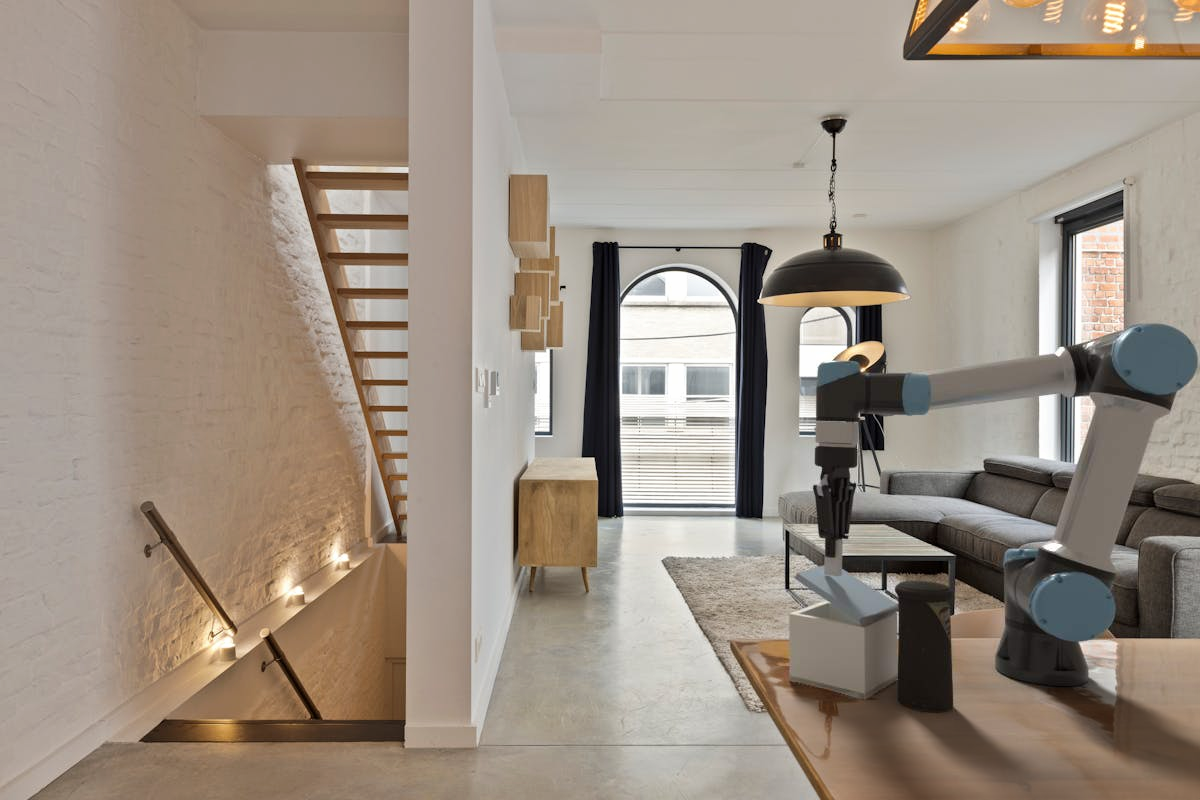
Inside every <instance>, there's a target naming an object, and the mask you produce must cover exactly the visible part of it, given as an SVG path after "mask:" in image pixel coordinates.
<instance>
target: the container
mask: <svg viewBox="0 0 1200 800" xmlns="http://www.w3.org/2000/svg"><path fill="white" fill-rule="evenodd" d="M894 592H895V594H896V596H897V597H898V600H897V601H898V612H897V613H898V614H897V617H898V624H897V653H898V680H897V681H896V684H897V687H896V689H897V690H896V696H897V697H896V698H897V702H898V703H899V704H901V706H904V707H907V708H909V709H912V710H917V711H922V712H928V713H929V712H930V713H931V712H933V713H944V712H948V711H950V710H952V709H953V708H954V686H953V685H954V684H953V682H954V681H953V679H954V678H953V658H952V657H953V653H952V652H953V651H952V650H953V649H952V626H951V625H952V624H951V623H952V622H951V600H952V598H953V596H954V591H953V589H952V588H950V587H949V585H946V584H943V583H939V582H934V581H929V580H928V581H927V580H905V581H900V582H899V583H897V584H896V585H895V587H894Z"/></svg>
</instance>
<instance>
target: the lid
mask: <svg viewBox="0 0 1200 800" xmlns="http://www.w3.org/2000/svg"><path fill="white" fill-rule="evenodd" d="M794 579H795V580H796V581H797V582H799V583H801V584H802V585H803V586H805V587H806V588H807V589H810V590H811V591H812V592H814V593H815V594H817V595H818V596H819V597H821V598H823V600H825V601H828V602H830V603H831V604H833V605H834V606H836V607H837V608H839V609H840V610H842V611H843V612H845V613H846V614H848V615H849V616H851V617H852V618H854V619H855V620H857V621H858V622H860V624H861V625H862V626H867V625H869V624H871V623H874V622H876V621H878V620H880V619H883V618H885V617H887V616H889V615H892V614H894V613H899V612H898V603H897V602H895V601H893V600H892V599H890V598H889V597H887V596H886V595H884V594H883V593H880V591H878V590H876V589H875V588H873V587H871V586H870V585H868V584H867V583H865V582H864V581H863V580H860V579H858V577H856V576H854V575H853V574H851V573H850V572H849V571H847V570H845V569H843V568H842V575H841V576H833V575H827V574H824V564H823V565H819V566H817V567H813V568H809V569H806V570H803V571H799V572H796V574H795V577H794Z"/></svg>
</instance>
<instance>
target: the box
mask: <svg viewBox="0 0 1200 800" xmlns="http://www.w3.org/2000/svg"><path fill="white" fill-rule="evenodd" d="M788 615H789V616H788V618H789V620H788V623H789V624H788V625H789V627H788V628H789V629H788V631H789V632H788V633H789V638H788V640H789V643H788V644H789V646H788V647H789V649H788V650H789V651H788V652H789V653H788V654H789V658H788V659H789V662H788V663H789V667H788V668H789V672H788V673H789V675H788V676H789V677H788V678H789V682H792V683H796V682H798V683H797V684H800V683H804V684H809V685H814V686H819V687H823V688H826V689H829V690H832V691H835V692H839V693H842V694H841V695H843V694H846V695H845V696H847V695H849V696H848V697H851V696H852V698H855V699H860V700H863V699H864V700H863V701H866V700H867V699H869V698H870V697H872V696H874V695H875V694H877V693H878V692H877V691H879V690H880V691H882V690H883V689H882V688H883V687H885V686H887V685H888V684H890V683H892V682H893V683H895V682H897V681H896V680H897V679H898V612H896V613H894V614H892V615H889V616H887V617H885V618H883V619H880V620H878V621H876V622H874V623H871V624H869V625H867V626H862V625H861V624H860V622H858V621H857V620H855V619H854V618H852V617H851V616H849V615H848V614H846V613H845V612H843V611H842V610H840V609H839V608H837V607H836V606H834V605H833V604H831V603H830V602H828V601H827V600H824V601H821V602H819V603H816V604H812V605H809V606H807V607H804V608H802V609H798V610H796V611H792V612H790V613H789V614H788ZM894 681H895V682H894ZM893 683H892V684H893ZM804 684H803V685H804ZM890 685H891V684H890ZM887 687H888V686H887ZM885 688H886V687H885ZM881 689H882V690H881ZM880 691H879V692H880ZM835 692H834V693H835ZM876 692H877V693H876ZM839 693H838V694H839ZM874 693H875V694H874ZM873 694H874V695H873ZM868 697H869V698H868ZM865 699H866V700H865Z"/></svg>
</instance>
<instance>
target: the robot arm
mask: <svg viewBox="0 0 1200 800" xmlns="http://www.w3.org/2000/svg"><path fill="white" fill-rule="evenodd" d="M1198 357H1199V356H1198V352H1197V349H1196V346H1195V345H1194V344H1193V342H1192V341H1191V339H1190V338H1189V337H1188V336H1187V334H1185V333H1184V332H1182V331H1181V330H1180V329H1177V328H1176V327H1174V326H1173V325H1172V326H1171V325H1170V324H1169V325H1168V324H1164V323H1154V322H1153V323H1138V324H1133V325H1130V326H1128V327H1126V328H1124V329H1122V330H1118V331H1114V332H1110V333H1108V334H1105V335H1102V336H1099V337H1096V338H1093V339H1090V340H1087V341H1085V342H1084V341H1083V342H1080V343H1078V344H1077V343H1076V344H1072V345H1071V344H1070V345H1065V346H1060V347H1058V348H1057V350H1055V352H1054V353H1048V354H1047V353H1046V354H1039V355H1034V356H1028V357H1027V356H1026V357H1019V358H1012V359H1006V360H999V361H991V362H986V363H979V364H977V363H976V364H971V365H965V366H964V365H963V366H958V367H950V368H944V369H936V370H929V371H922V372H915V373H913V372H903V373H902V372H897V373H896V372H885V373H884V372H880V373H879V372H877V373H875V372H873V373H872V372H865V371H862V369H861V365H860V363H859V362H857V361H855V360H853V361H852V360H826V361H822V362H821V363H820V364H819V365H818V366H817V371H816V372H817V373H816V374H817V375H816V385H815V386H816V388H815V389H816V393H815V396H816V397H815V421H816V422H815V426H814V429H813V430H814V432H815V438H814V439H815V443H817V444H818V445H816V446H815V447H814V465H815V466H817V467H820V468H821V473H820V475H819V480H820V482H819V483H818V484H816V483H814V484H813V485H812V490H813V494H814V498H815V510H816V519H817V531H818V536H819V538H821V539H824V562H823V565H824V574H827V575H833V576H841V575H842V569H843V544H844V543H843V541H844V540H848V539H849V537H850V536H849V534H850V533H849V532H850V527H851V520H852V519H851V518H852V512H853V511H852V510H853V503H854V496H855V493H856V490H857V482H855V481H854V482H853V481H851V474H850V473H851V472H850V469H852V468H853V469H855V468H857V466H858V460H859V459H858V455H859V454H858V451H859V450H858V448H857V447H856V445H858V444H859V416H860V415H859V414H865V415H868V414H869V415H878V416H880V417H892V416H908V417H912V416H924V415H926V414H928V412H929V411H933V410H943V409H949V408H956V407H957V408H958V407H965V406H970V405H971V406H973V405H978V404H979V405H980V404H987V403H995V402H1005V401H1013V400H1020V399H1026V398H1027V399H1028V398H1035V397H1043V396H1050V395H1058V394H1059V395H1062V396H1063V397H1064V396H1065V397H1066V398H1067V399H1068V398H1070V399H1071V398H1078V397H1089V398H1090V400H1092V402H1093V404H1094V406H1095V407H1094V408H1095V409H1094V411H1093V415H1092V418H1091V419H1090V422H1089V426H1088V429H1087V432H1086V436H1085V439H1084V442H1083V444H1082V448H1081V451H1080V454H1079V457H1078V460H1077V464H1076V465H1075V466H1076V467H1075V470H1074V472H1073V476H1072V479H1071V482H1070V485H1069V487H1068V491H1067V493H1066V497H1065V500H1064V503H1063V506H1062V509H1061V512H1060V514H1059V518H1058V521H1057V524H1056V528H1055V531H1054V533H1053V536H1052V539H1051V540H1049V541H1047V542H1044V543H1042V544H1040V545H1039V546H1038V548H1037V549H1036V548H1008V549H1007V550H1006V551H1005V552H1004V558H1003V563H1002V565H1003V573H1004V574H1003V578H1004V579H1003V580H1004V581H1003V583H1004V584H1003V585H1004V588H1003V589H1004V591H1003V592H1004V593H1003V594H1004V628H1003V632H1002V634H1001V637H1000V640H999V644H998V646H997V649H996V651H995V655H994V668H995V669H996V670H997V671H998V672H999V673H1000V674H1003V675H1005V676H1008V677H1010V678H1012V679H1016V680H1018V681H1019V680H1020V681H1022V682H1027V683H1032V684H1033V683H1034V684H1037V685H1045V686H1047V685H1048V686H1056V687H1057V686H1058V687H1073V686H1082V685H1085V684H1087V683H1088V682H1089V679H1090V677H1089V666H1088V662H1087V661H1086V658H1085V655H1084V652H1083V650H1082V646H1081V642H1086V641H1090V640H1093V639H1096V638H1099V636H1102V634H1104V633H1106V632H1107V631H1108V629H1109V628H1110V626H1111V625H1112V624H1113V621H1114V619H1115V616H1116V602H1115V599H1114V596H1113V593H1112V589H1113V586H1114V583H1115V579H1116V576H1117V573H1118V570H1117V568H1116V567H1115V565H1114V564H1113V562H1112V560H1111V557H1112V554H1113V550H1114V547H1115V544H1116V540H1117V538H1118V534H1119V531H1120V529H1121V526H1122V522H1123V520H1124V516H1125V513H1126V510H1127V508H1128V504H1129V501H1130V498H1131V495H1132V492H1133V489H1134V486H1135V483H1136V480H1137V477H1138V476H1139V475H1138V474H1139V471H1140V468H1141V465H1142V462H1143V460H1144V456H1145V453H1146V450H1147V447H1148V443H1149V441H1150V439H1151V434H1152V432H1153V429H1154V427H1155V422H1156V421H1157V420H1159V419H1161V418H1164V417H1165V416H1167V415H1170V413H1171V411H1172V408H1173V407H1172V406H1173V404H1174V403H1175V402H1174V401H1175V398H1176V396H1177V392H1178V391H1181V390H1182V389H1183V388H1185V387H1186V386H1187V385H1188V384H1189V383H1190V381H1192V379H1193V378H1194V377H1195V375H1196V373H1197V369H1198V363H1199V359H1198ZM843 539H844V540H843Z"/></svg>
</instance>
